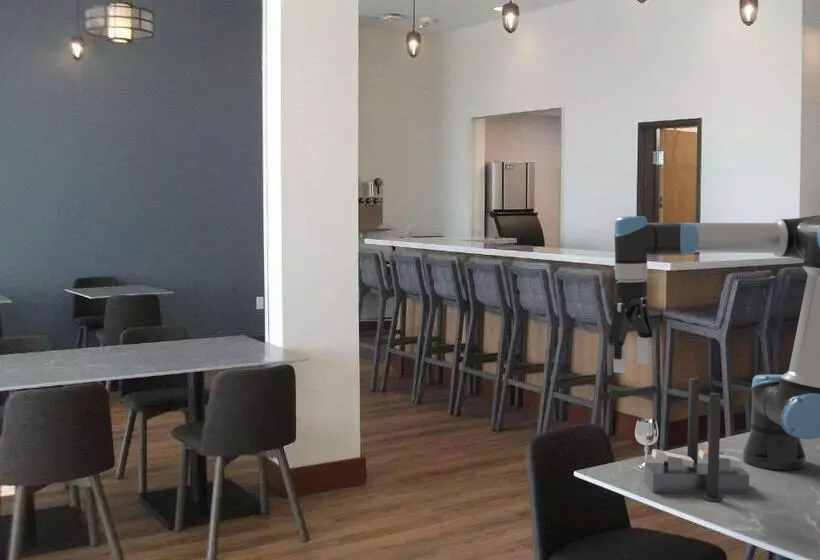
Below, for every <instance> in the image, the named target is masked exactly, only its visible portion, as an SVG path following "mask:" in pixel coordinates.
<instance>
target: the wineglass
mask: <svg viewBox="0 0 820 560" xmlns="http://www.w3.org/2000/svg"><path fill="white" fill-rule="evenodd" d="M634 436H635V440H636V441H637V442H638V443H639V444H641V445H643V446H644V448H643V449H644V450H643V451H644V453H645V455H644V462H643V463H639V464H637V465H638V467H637V468H639V467H640V469H643V470H645V463H649V462H648V452H649V446H650V445H651V446H652V445H654V444H655V443H656V442H658V438H659V427H658V423H657V420H656V419H653V418H638V419H637V421H636V425H635V430H634Z"/></svg>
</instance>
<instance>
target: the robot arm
mask: <svg viewBox="0 0 820 560" xmlns="http://www.w3.org/2000/svg"><path fill="white" fill-rule="evenodd" d="M613 237H614V267H613V270H614V278H615V280H617V281H616V282H615V283H614V295H615V297H616V298H620V302H615V303H614V305H613V306H614V309H613V310H614V311H613V316H612V317H613V318H612V322H611V327H610V330H609V331H610V332H609V338H608V344H609V346H613V348H612V349H613V352H612V353H613V373H616V374H617V373H619V374H626V373H627V372H626V371H627V370H626V369H627V368H626V367H627V366H626V358H627V357H626V353H627V352H626V345H625V341H626V338H627V336H628V335H627V334H628V331H629V328H630V326H631V323H633V324H634V327H635V330H636V333H637V335H638V336H637V337H636V364H639V365H650V364H649V359H650V358H649V356H650V355H649V354H650V353H649V350H650V349H649V347H650V346H649V345H650V343H649V340H650V339H649V338H653V335H654V334H653V327H652V321H651V317H650V313H649V307H648V299H647V298H646V297H647V296H648V282H647V281H646V280H647V279H648V256H674V255H675V256H677V255H679V256H684V255H693V254H695V253H726V254H727V253H730V254H731V253H733V254H735V253H737V254H739V253H742V254H745V253H746V254H747V253H748V254H749V253H750V254H751V253H752V254H753V253H754V254H755V253H756V254H759V253H760V254H763V253H765V254H766V253H767V254H773V255H774V256H776V257H777V258H794V259H799V260H803V264H802V268H803V270H804V271H805V272H806V274H807V275H806V276H807V278H806V283H805V288H804V293H803V298H802V302H801V303H802V304H801V309H800V314H799V318H798V322H797V329H796V334H795V338H794V343H793V349H792V353H791V359H790V364H789V368H788V371H787V372H785V373H784V374H757V375H754V377H753V378H752V383H751V384H752V385H751V388H750V389H751V411H750V412H751V415H750V417H751V418H750V424H751V425H750V433H749V436H748V438H747V441H746V443H745V445H744V448H743V453H742V460H743V462H744V463H746V464H748V465H750V466H755V467H757V468H762V469H769V470H776V471H791V470H793V471H794V470H800V469H804V468H805V467H806V463H807V462H806V460H807V459H806V456H807V455H806V453H805V450H804V446H803V443H802V440H808V441H809V440H814V439H818V438H820V215H811V216H810V215H809V216H802V217H794V218H779V219H776V220H774V222H658V221H657V222H656V221H654V222H652V221H651V222H649V223H648V218H647V217H646V216H642V215H640V216H636V215H635V216H619V217H617V218H616V219H615V222H614V234H613ZM801 439H802V440H801Z"/></svg>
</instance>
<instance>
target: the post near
mask: <svg viewBox="0 0 820 560" xmlns="http://www.w3.org/2000/svg"><path fill="white" fill-rule="evenodd" d="M721 395H722V394H721V393H718V392H710V393H709V398H708V399H709V402H708V405H709V406H708V440H707V441H708V442H707V451H708V461H707V463H708V479H707V493H704V494H703V496H702V498H703V501H707V502H711V503H719V502H722V500H723V497H722V496H721V494H719V493H718V486H719V452H720V444H721V443H720V435H721V404H722V403H721V399H722V398H721Z"/></svg>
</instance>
